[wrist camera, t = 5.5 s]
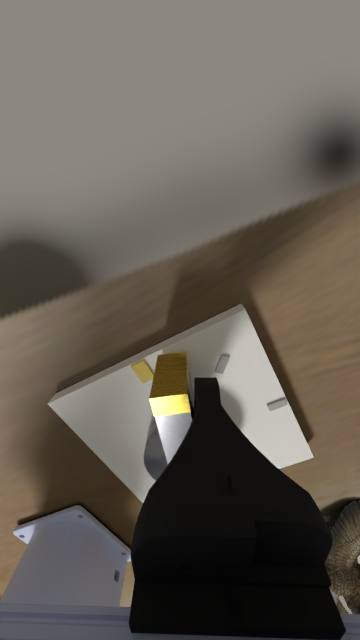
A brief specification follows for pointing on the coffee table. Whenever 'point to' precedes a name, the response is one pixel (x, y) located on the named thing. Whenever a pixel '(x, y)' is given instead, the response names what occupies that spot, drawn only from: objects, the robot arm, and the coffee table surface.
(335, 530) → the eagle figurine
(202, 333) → the dial plate
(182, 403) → the dial
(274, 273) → the coffee table surface
